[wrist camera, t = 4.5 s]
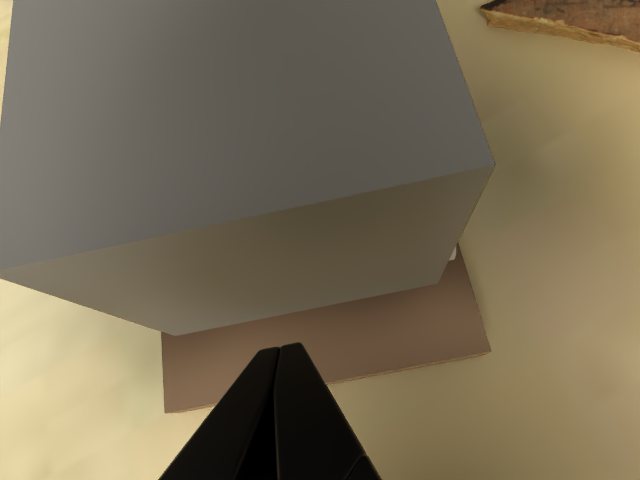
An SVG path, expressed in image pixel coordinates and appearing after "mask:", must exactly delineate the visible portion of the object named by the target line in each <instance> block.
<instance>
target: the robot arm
mask: <svg viewBox="0 0 640 480" xmlns="http://www.w3.org/2000/svg"><path fill="white" fill-rule="evenodd" d="M158 480H382V479H381V477H380V475H379V474H378V472H377V471H376V469H375V467H374V465H373V464H372V462H371V460H370V459H369V457H368V456H367V455H366V452H365V450H364V449H363V447H362V445H361V444H360V442H359V440H358V438H357V437H356V435H355V433H354V432H353V430H352V428H351V426H350V425H349V423H348V421H347V420H346V418H345V416H344V414H343V413H342V411H341V409H340V408H339V406H338V404H337V402H336V401H335V399H334V397H333V395H332V394H331V392H330V390H329V389H328V387H327V385H326V383H325V382H324V380H323V378H322V377H321V375H320V373H319V371H318V370H317V368H316V366H315V365H314V363H313V361H312V359H311V358H310V356H309V354H308V353H307V351H306V349H305V347H304V346H303V344H302V343H301V342H296V343H291V344H286V345H283V346H281V348H280V347H278V346H276V347H270V348H265V349H261V350H259V351H258V352H257V353H256V354H255V356H254V357H253V358H252V360H251V361H250V362H249V363H248V365H247V366H246V367H245V369H244V370H243V371H242V372H241V374H240V375H239V376H238V378H237V379H236V380H235V381H234V383H233V384H232V385H231V387H230V388H229V389H228V390H227V392H226V393H225V394H224V396H223V397H222V398H221V399H220V401H219V402H218V403H217V405H216V406H215V407H214V408H213V410H212V411H211V412H210V414H209V415H208V416H207V417H206V419H205V420H204V421H203V423H202V424H201V425H200V426H199V428H198V429H197V430H196V432H195V433H194V434H193V435H192V437H191V438H190V439H189V441H188V442H187V443H186V444H185V446H184V447H183V448H182V450H181V451H180V452H179V453H178V455H177V456H176V457H175V459H174V460H173V461H172V462H171V464H170V465H169V466H168V468H167V469H166V470H165V471H164V473H163V474H162V475H161V477H160V478H159V479H158Z"/></svg>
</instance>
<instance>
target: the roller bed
mask: <svg viewBox="0 0 640 480" xmlns="http://www.w3.org/2000/svg"><path fill="white" fill-rule="evenodd" d="M161 339H162V362H163V385H164V408H165V413H180V412H185V411H191V410H196V409H201V408H206V407H212V406H216V405H217V403H218V402H219V401H220V399H221V398H222V397H223V396H224V394H225V393H226V392H227V390H228V389H229V388H230V387H231V385H232V384H233V383H234V381H235V380H236V379H237V378H238V376H239V375H240V374H241V372H242V371H243V370H244V369H245V367H246V366H247V365H248V363H249V362H250V361H251V360H252V358H253V357H254V356H255V354H256V353H257V352H258V351H259V350H261V349H265V348H270V347H276V346H278V347H280V348H281V346H283V345H286V344H291V343H296V342H301V343H302V344H303V346H304V347H305V349H306V351H307V353H308V354H309V356H310V358H311V359H312V361H313V363H314V365H315V366H316V368H317V370H318V371H319V373H320V375H321V377H322V378H323V380H324V382H325V383H326V385H328V384H333V383H338V382H344V381H349V380H354V379H359V378H365V377H370V376H375V375H380V374H386V373H391V372H396V371H401V370H407V369H412V368H417V367H423V366H428V365H433V364H438V363H444V362H449V361H454V360H459V359H465V358H470V357H475V356H481V355H484V354H486V353H489V352H491V349H490V345H489V342H488V339H487V336H486V332H485V329H484V326H483V323H482V319H481V316H480V313H479V310H478V306H477V303H476V300H475V296H474V293H473V290H472V287H471V283H470V280H469V277H468V274H467V270H466V267H465V264H464V261H463V257H462V254H461V251H460V247H459V244H458V243H457V245H456V247H455V249H454V251H453V253H452V255H451V257H450V259H449V261H448V263H447V265H446V267H445V269H444V271H443V273H442V275H441V278H440V280H439V282H438V284H434V285H429V286H424V287H419V288H414V289H409V290H404V291H399V292H394V293H389V294H384V295H379V296H374V297H369V298H364V299H359V300H354V301H349V302H344V303H339V304H334V305H329V306H324V307H318V308H313V309H308V310H303V311H298V312H293V313H288V314H283V315H278V316H273V317H268V318H263V319H258V320H253V321H248V322H243V323H238V324H233V325H228V326H223V327H218V328H213V329H208V330H203V331H198V332H193V333H188V334H183V335H178V336H173V335H170V334H167V333H164V332H161Z"/></svg>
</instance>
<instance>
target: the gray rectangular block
mask: <svg viewBox="0 0 640 480" xmlns="http://www.w3.org/2000/svg"><path fill="white" fill-rule="evenodd" d="M494 167H495V162H494V159H493V156H492V154H491V151H490V148H489V145H488V143H487V140H486V137H485V134H484V132H483V129H482V126H481V123H480V121H479V118H478V115H477V112H476V110H475V107H474V104H473V101H472V99H471V96H470V93H469V90H468V88H467V85H466V82H465V79H464V77H463V74H462V71H461V68H460V66H459V63H458V60H457V57H456V55H455V52H454V49H453V46H452V44H451V41H450V38H449V35H448V33H447V30H446V27H445V24H444V22H443V19H442V16H441V13H440V11H439V8H438V5H437V2H436V0H13V8H12V18H11V28H10V37H9V47H8V57H7V66H6V76H5V86H4V95H3V105H2V115H1V124H0V278H1V279H4V280H7V281H10V282H13V283H16V284H19V285H22V286H25V287H28V288H31V289H34V290H37V291H40V292H43V293H46V294H49V295H52V296H55V297H58V298H61V299H64V300H67V301H70V302H73V303H76V304H79V305H83V306H86V307H89V308H92V309H95V310H98V311H101V312H104V313H107V314H110V315H113V316H116V317H119V318H122V319H125V320H128V321H131V322H134V323H137V324H140V325H143V326H146V327H149V328H152V329H155V330H158V331H161V332H164V333H167V334H170V335H173V336H178V335H183V334H188V333H193V332H198V331H203V330H208V329H213V328H218V327H223V326H228V325H233V324H238V323H243V322H248V321H253V320H258V319H263V318H268V317H273V316H278V315H283V314H288V313H293V312H298V311H303V310H308V309H313V308H318V307H324V306H329V305H334V304H339V303H344V302H349V301H354V300H359V299H364V298H369V297H374V296H379V295H384V294H389V293H394V292H399V291H404V290H409V289H414V288H419V287H424V286H429V285H434V284H438V282H439V280H440V278H441V275H442V273H443V271H444V269H445V267H446V265H447V263H448V261H449V259H450V257H451V255H452V253H453V251H454V249H455V247H456V245H457V243H458V241H459V239H460V237H461V234H462V232H463V230H464V228H465V226H466V224H467V222H468V220H469V218H470V216H471V214H472V212H473V210H474V208H475V206H476V204H477V202H478V200H479V198H480V195H481V193H482V191H483V189H484V187H485V185H486V183H487V181H488V179H489V177H490V175H491V173H492V171H493V169H494Z"/></svg>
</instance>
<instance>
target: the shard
mask: <svg viewBox="0 0 640 480" xmlns="http://www.w3.org/2000/svg"><path fill="white" fill-rule="evenodd" d="M480 10H481V11H482V12H483V13H484V14H485V15H486V16H487V18H488V19H489V21H488V23H487V25H488V26H493V27H501V28H506V29H512V30H516V31H524V32H532V33H540V34H547V35H554V36H562V37H567V38H572V39H576V40H580V41H588V42H591V43H598V44H610V45H613V46H616V47H620V48H624V49H630V50H632V51H638V52H640V0H494V1H492V2H490V3H487V4H485V5H482V6H481V7H480Z"/></svg>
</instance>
